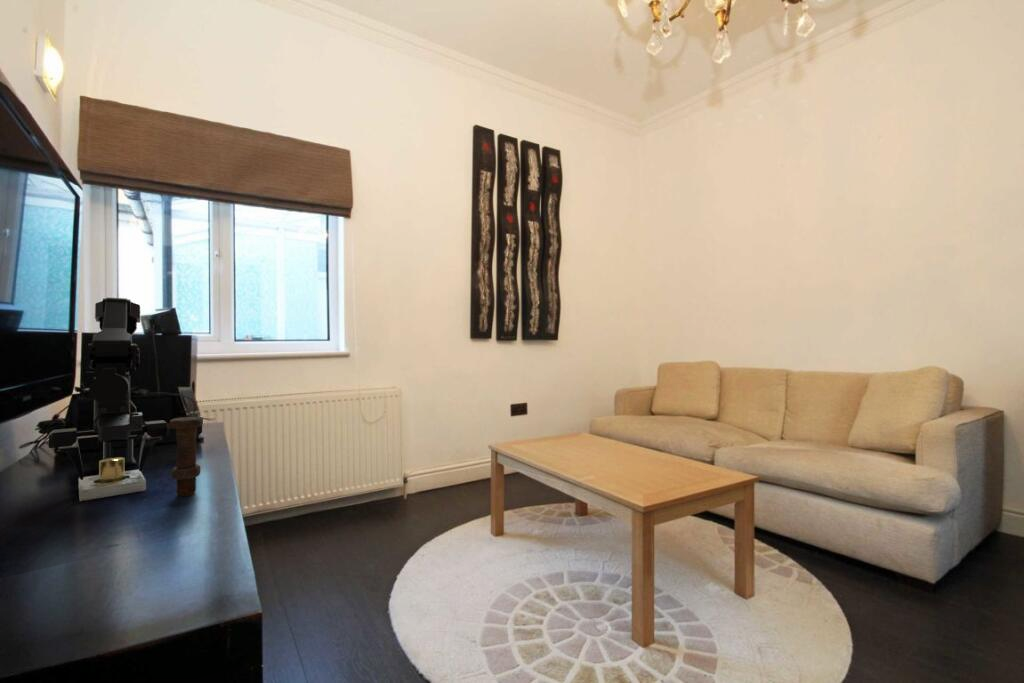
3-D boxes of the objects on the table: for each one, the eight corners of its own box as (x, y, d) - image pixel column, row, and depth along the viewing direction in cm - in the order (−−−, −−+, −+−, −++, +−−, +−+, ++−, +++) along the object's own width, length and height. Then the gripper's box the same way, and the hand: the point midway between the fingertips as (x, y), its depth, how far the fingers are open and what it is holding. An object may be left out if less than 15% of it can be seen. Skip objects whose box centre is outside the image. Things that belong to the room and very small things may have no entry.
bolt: (209, 491, 96) (209, 416, 96) (190, 499, 91) (190, 420, 91) (182, 490, 97) (182, 416, 97) (162, 498, 92) (162, 420, 92)
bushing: (98, 488, 98) (98, 459, 98) (123, 485, 101) (123, 456, 101) (99, 493, 95) (99, 463, 95) (125, 489, 98) (125, 459, 98)
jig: (78, 487, 99) (78, 477, 99) (139, 478, 106) (139, 469, 106) (79, 501, 90) (79, 490, 90) (145, 490, 97) (146, 480, 97)
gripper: (47, 407, 86) (47, 493, 86) (173, 398, 98) (173, 474, 98) (49, 401, 94) (49, 480, 94) (165, 394, 107) (165, 464, 107)
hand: (112, 475), depth 98 cm, fingers open, 9 cm apart
